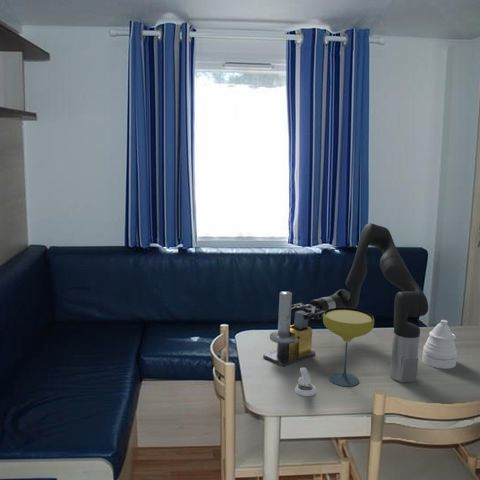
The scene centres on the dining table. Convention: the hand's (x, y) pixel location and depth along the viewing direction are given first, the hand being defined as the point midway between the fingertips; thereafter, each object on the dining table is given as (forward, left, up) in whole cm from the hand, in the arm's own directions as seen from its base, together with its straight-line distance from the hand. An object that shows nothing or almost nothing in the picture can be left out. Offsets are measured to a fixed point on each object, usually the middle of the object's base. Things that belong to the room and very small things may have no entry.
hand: (296, 314), depth 220 cm
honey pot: (-16, -56, -17) cm, 61 cm away
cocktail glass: (-26, -11, -17) cm, 33 cm away
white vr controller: (-32, +6, -17) cm, 36 cm away
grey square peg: (+1, -2, -16) cm, 16 cm away
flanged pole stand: (-2, +3, -17) cm, 17 cm away
